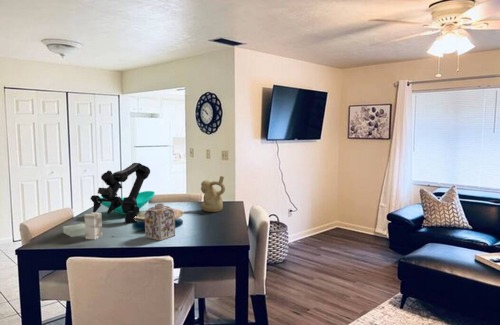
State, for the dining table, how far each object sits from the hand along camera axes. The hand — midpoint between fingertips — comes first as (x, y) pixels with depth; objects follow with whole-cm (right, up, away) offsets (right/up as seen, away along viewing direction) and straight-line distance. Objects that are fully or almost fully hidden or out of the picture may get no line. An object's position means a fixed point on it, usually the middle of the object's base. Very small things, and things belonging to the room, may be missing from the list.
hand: (100, 213), depth 204 cm
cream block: (-2, -13, -5) cm, 14 cm away
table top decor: (-3, -8, +53) cm, 53 cm away
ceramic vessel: (+56, -6, +60) cm, 82 cm away
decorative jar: (+34, -12, -4) cm, 37 cm away
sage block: (-15, -12, +5) cm, 20 cm away
